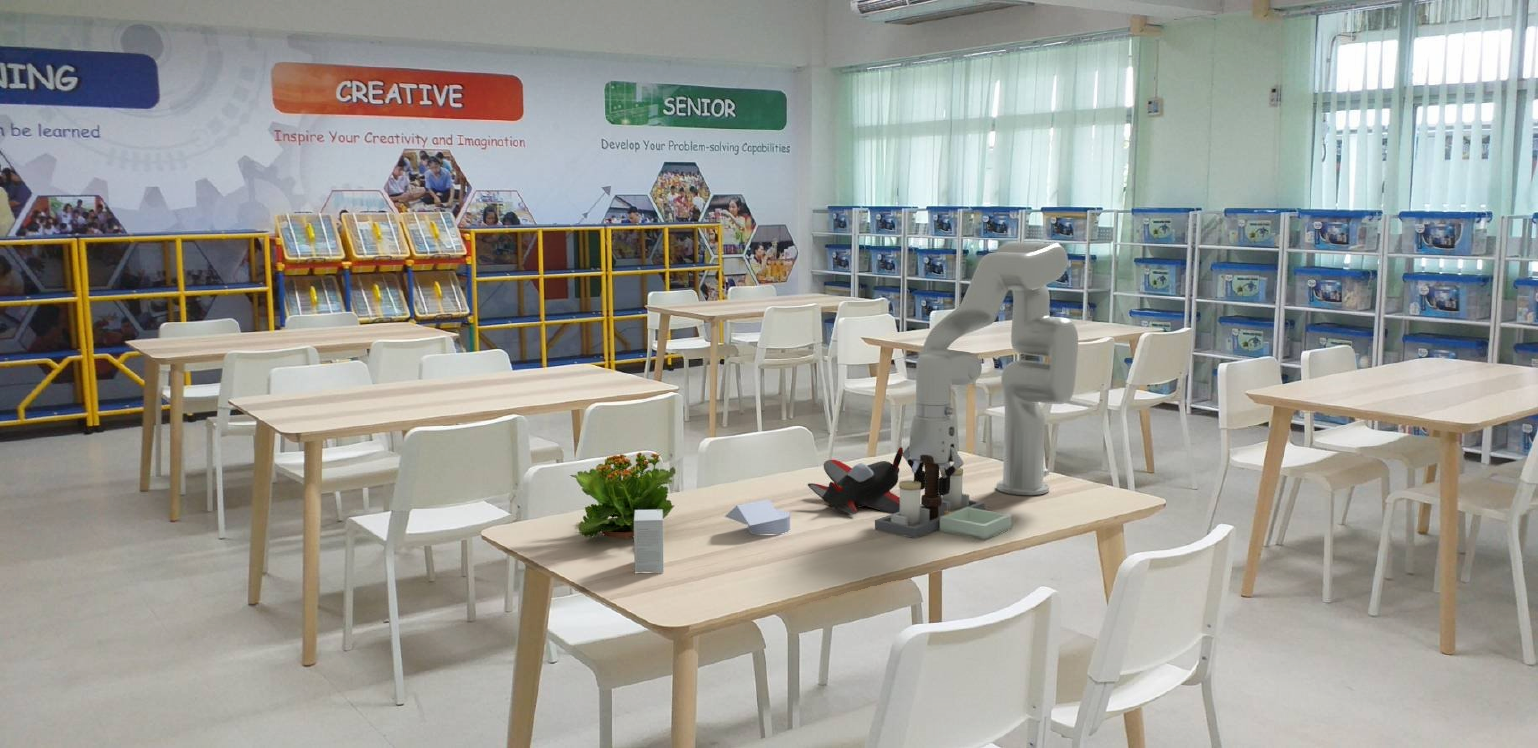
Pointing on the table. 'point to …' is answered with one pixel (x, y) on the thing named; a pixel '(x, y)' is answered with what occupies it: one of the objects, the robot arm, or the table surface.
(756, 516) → the wedge on round base
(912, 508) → the fuse outer
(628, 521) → the potted flower
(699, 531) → the table surface
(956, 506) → the ball
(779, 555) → the table surface
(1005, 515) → the tray
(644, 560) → the small box
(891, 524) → the block
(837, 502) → the toy airplane
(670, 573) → the table surface
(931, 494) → the bolt
